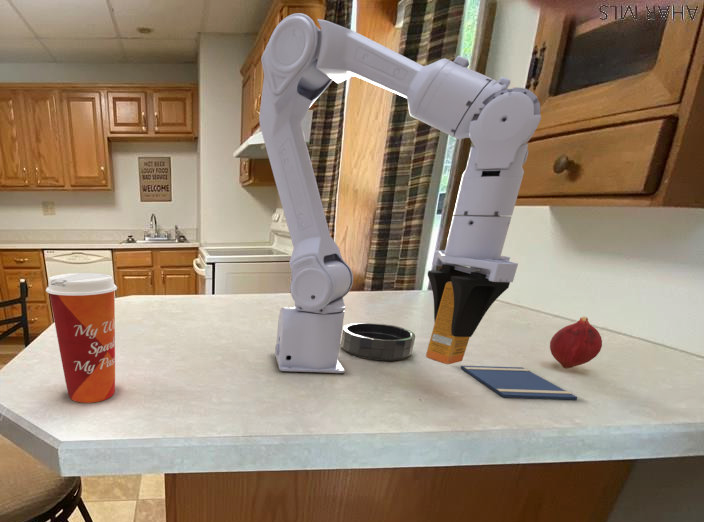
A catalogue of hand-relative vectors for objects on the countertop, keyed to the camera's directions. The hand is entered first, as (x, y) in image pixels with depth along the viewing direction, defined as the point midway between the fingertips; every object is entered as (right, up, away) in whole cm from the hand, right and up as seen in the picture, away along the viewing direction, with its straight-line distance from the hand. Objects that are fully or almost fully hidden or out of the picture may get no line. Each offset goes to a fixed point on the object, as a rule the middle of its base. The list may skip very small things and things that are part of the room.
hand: (452, 331), depth 54 cm
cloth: (+12, -7, +6) cm, 15 cm away
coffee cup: (-46, -8, +2) cm, 47 cm away
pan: (-2, -1, +19) cm, 19 cm away
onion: (+25, -4, +12) cm, 28 cm away
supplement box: (0, -4, +2) cm, 4 cm away
